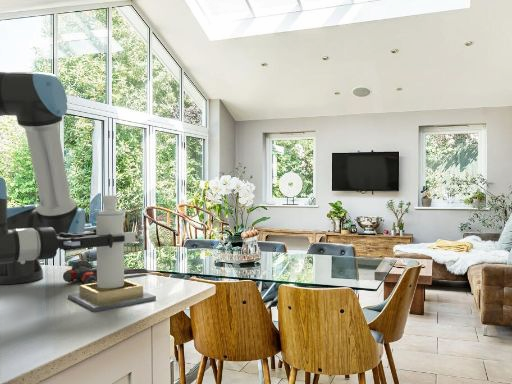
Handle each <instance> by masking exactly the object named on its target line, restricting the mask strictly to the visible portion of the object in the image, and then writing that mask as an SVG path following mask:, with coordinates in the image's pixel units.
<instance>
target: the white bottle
mask: <svg viewBox="0 0 512 384" xmlns="http://www.w3.org/2000/svg"><path fill="white" fill-rule="evenodd" d="M117 197H118V195H116V194H114V195H113V194H111V195H109V194H108V195H106V194H105V195H102V201H101V202H102V204H103V209H102V210H98V212H97V213H95V215H96V216H95V219H96V220H95V221H96V222H95V225H96V226H95V229H96V235H108V234H113V233H125V231H124V212H121V210H120V209H117V203H118V198H117ZM124 245H125V243H124V244H114V245H112V248H110V247H109V246H101V247H96V268H97V287H98V288H105V289H108V288H118V287H121V286H123V285H124V279H125V275H124V270H125V248H124V247H125V246H124Z"/></svg>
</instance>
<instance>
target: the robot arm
mask: <svg viewBox="0 0 512 384" xmlns="http://www.w3.org/2000/svg"><path fill="white" fill-rule="evenodd" d="M67 103H68V97H67V93H66V90H65V87H64V85H63V83H62V81H61V80H60V78H59V77H58V76H57V75H55V74H53V73H51V72H40V71H20V72H19V71H17V72H15V71H14V72H13V71H11V72H10V71H8V72H7V71H5V72H4V71H0V117H2V116H12V117H13V116H15V117H16V120H17V125H18V126H20V127H22V128H23V129H24V130H25V134H26V138H27V144H28V149H29V154H30V158H31V164H32V169H33V174H34V178H35V183H36V187H37V188H36V189H37V192H38V198H39V203H38V204H37V206H36V205H35V204H27V205H26V204H25V205H21V206H14V207H8V193H7V183H6V180H5V179H4V178H3V177H2V176H0V285H14V284H17V285H19V284H24V283H31V282H35V281H38V280H40V279H43V278H44V270H43V268H42V265H41V263H40V260H51V259H52V260H53V259H55V257H56V255H57V253H58V249H59V250H62V251H71V250H77V249H78V250H80V249H86V248H87V249H88V248H97V247H101V246H109V247H110V248H112V245H114V244H124V245H125V244H133V243H136V231H127V232H125V231H124V233H113V234H108V235H96V228H95V229H93V231H87V232H85V227H86V212H85V210H84V208H82V207H78V203H77V201H76V199H74V198H72V197H71V193H70V189H69V183H68V177H67V171H66V165H65V164H66V163H65V159H64V154H63V148H62V143H61V141H62V140H61V137H60V130H59V125H60V123H61V122H62V121H63V116H65V115H66V113H67V111H68V104H67Z"/></svg>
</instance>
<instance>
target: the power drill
mask: <svg viewBox="0 0 512 384" xmlns="http://www.w3.org/2000/svg"><path fill="white" fill-rule="evenodd" d="M148 270H149V269H146V268H131V269H124V276H125V275H137V274H139V275H140V274H147V273H148ZM62 278H63V280H64V282H67V283H71V282H74V281H75V280H77V281H78V280H81V281H82V282H83V283H84V285H85V284H91V283H97V267H93V265H92V263H90V262H89V261H88V260H85V259H84V260H78V261H76V262H75V263H73V265H72V267H71V269H68V270H66V271H65V272H64V273H63V275H62Z"/></svg>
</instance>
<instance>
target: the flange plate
mask: <svg viewBox="0 0 512 384" xmlns="http://www.w3.org/2000/svg"><path fill="white" fill-rule="evenodd" d="M67 299H69V300H71V301H73V302H75V303H76V304H79V305H80V306H83V308H86V309H88V310H89V311H91V312H94V313H98V312H101V311H102V312H103V311H107V310H112V309H117V308H123V307H127V306H132V305H137V304H142V303H147V302H152V301H156V300H157V295H154V294H151V293H149V292H146V291H144V285H142V284H139V283H136V282H133V281H131V280H129V279H125V278H124V285H123V286H121V287H118V288H108V289H105V288H98V287H97V283H91V284H85V283H84V284H80V285H79V292H73V293H68V294H67Z"/></svg>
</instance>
